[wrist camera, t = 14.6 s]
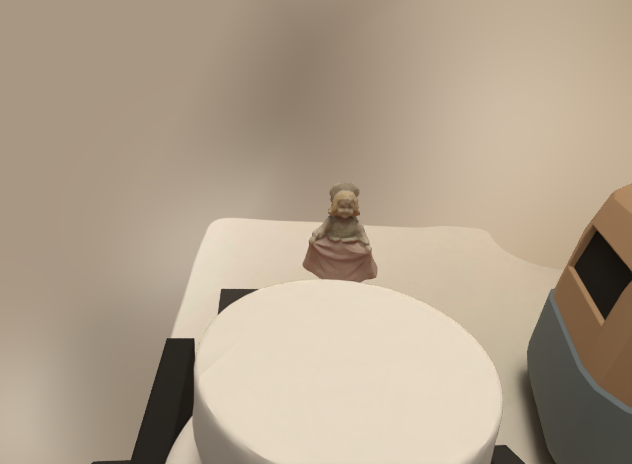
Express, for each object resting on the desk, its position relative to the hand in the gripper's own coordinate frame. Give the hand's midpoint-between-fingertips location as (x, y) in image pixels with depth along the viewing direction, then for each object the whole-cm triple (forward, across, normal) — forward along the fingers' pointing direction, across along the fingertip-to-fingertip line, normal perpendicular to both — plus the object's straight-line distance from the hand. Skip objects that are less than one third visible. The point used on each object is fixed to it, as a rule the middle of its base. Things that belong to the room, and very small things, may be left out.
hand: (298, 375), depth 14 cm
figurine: (+34, +7, -19) cm, 40 cm away
